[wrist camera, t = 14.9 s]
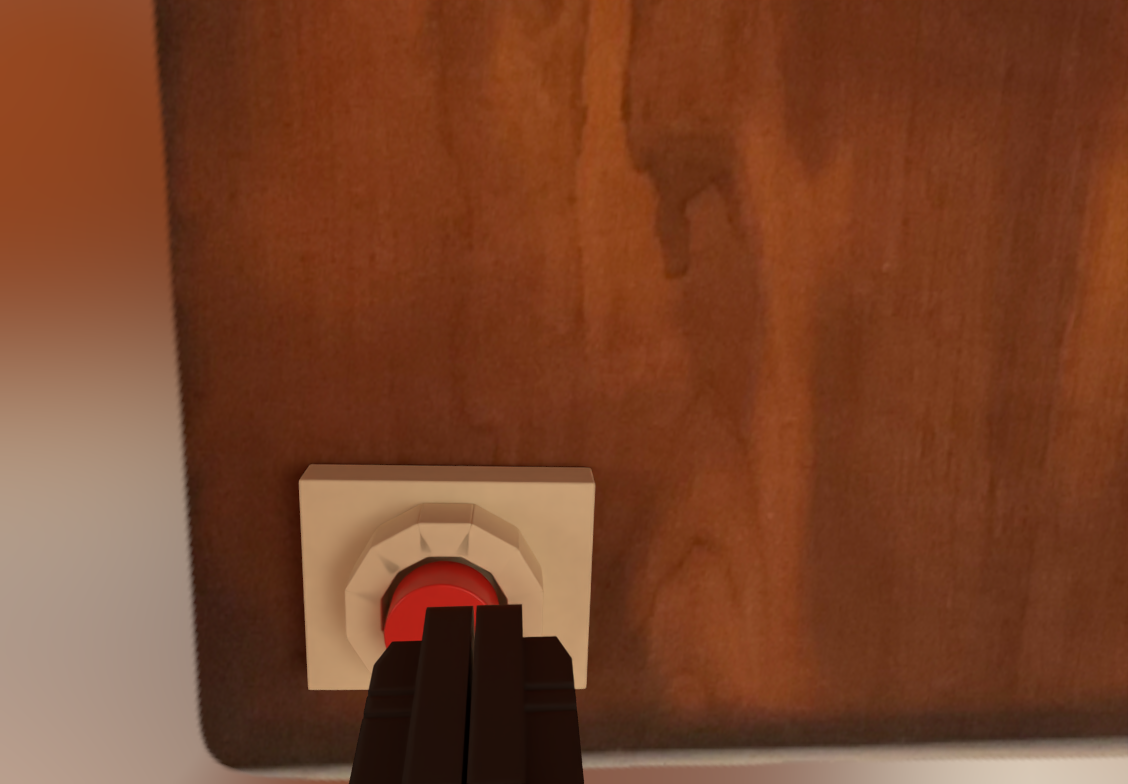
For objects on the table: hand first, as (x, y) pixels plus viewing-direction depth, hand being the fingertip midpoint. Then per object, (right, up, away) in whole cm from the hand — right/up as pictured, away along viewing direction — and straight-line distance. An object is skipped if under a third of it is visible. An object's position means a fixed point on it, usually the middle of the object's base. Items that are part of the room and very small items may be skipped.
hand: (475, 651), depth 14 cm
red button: (-3, -3, +16) cm, 16 cm away
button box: (-3, -2, +19) cm, 19 cm away
